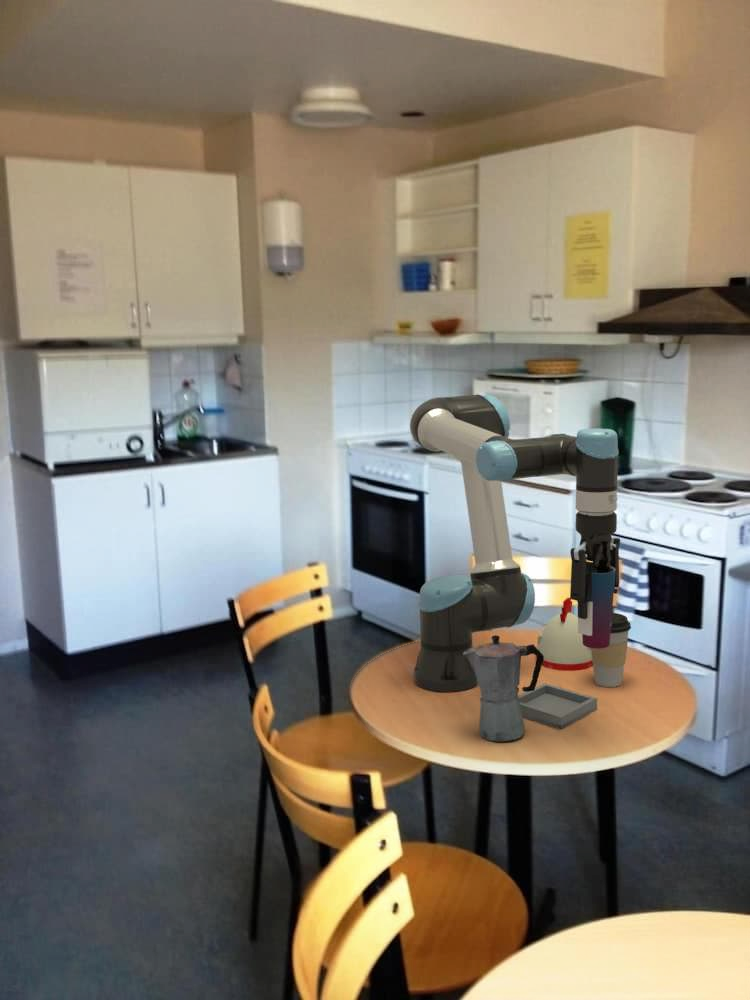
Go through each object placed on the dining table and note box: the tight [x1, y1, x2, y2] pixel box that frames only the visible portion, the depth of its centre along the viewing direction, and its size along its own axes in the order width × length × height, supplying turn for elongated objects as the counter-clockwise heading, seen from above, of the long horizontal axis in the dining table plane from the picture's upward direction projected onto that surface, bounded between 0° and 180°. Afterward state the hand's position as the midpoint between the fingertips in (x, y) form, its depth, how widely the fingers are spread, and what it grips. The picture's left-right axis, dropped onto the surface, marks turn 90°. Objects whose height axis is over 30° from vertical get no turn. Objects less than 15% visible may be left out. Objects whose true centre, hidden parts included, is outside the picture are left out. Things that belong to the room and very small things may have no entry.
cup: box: [582, 566, 616, 649], centre depth 179 cm, size 7×7×15 cm
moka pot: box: [463, 634, 544, 743], centre depth 182 cm, size 10×15×20 cm, turn 88°
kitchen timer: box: [535, 597, 593, 672], centre depth 221 cm, size 14×14×15 cm
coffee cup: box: [591, 612, 632, 688], centre depth 207 cm, size 9×9×15 cm
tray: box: [518, 682, 598, 730], centre depth 193 cm, size 13×13×2 cm
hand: (594, 629), depth 180 cm, fingers closed on cup, 6 cm apart
